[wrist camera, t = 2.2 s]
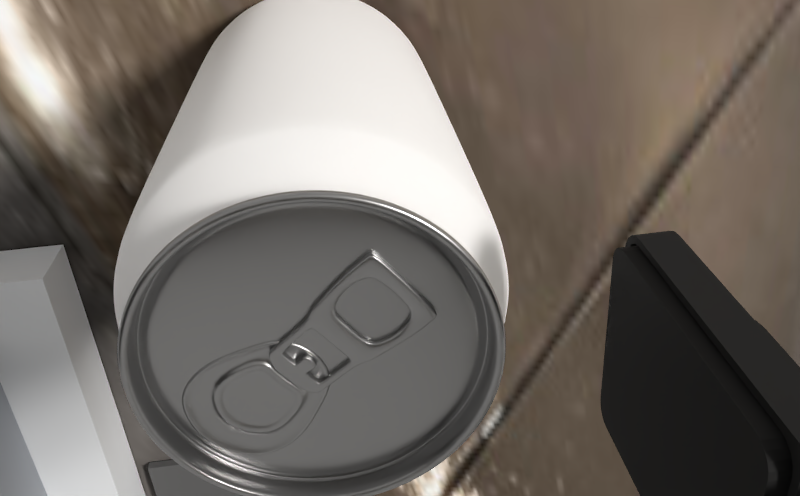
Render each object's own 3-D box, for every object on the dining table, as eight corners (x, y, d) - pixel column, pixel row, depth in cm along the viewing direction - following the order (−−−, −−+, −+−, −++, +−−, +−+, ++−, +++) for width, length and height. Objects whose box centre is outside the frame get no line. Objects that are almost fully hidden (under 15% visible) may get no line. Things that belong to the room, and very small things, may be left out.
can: (148, 99, 21) (-16, 370, 11) (318, -69, 19) (323, 55, 9) (313, 247, 24) (312, 579, 13) (474, 110, 22) (618, 367, 12)
